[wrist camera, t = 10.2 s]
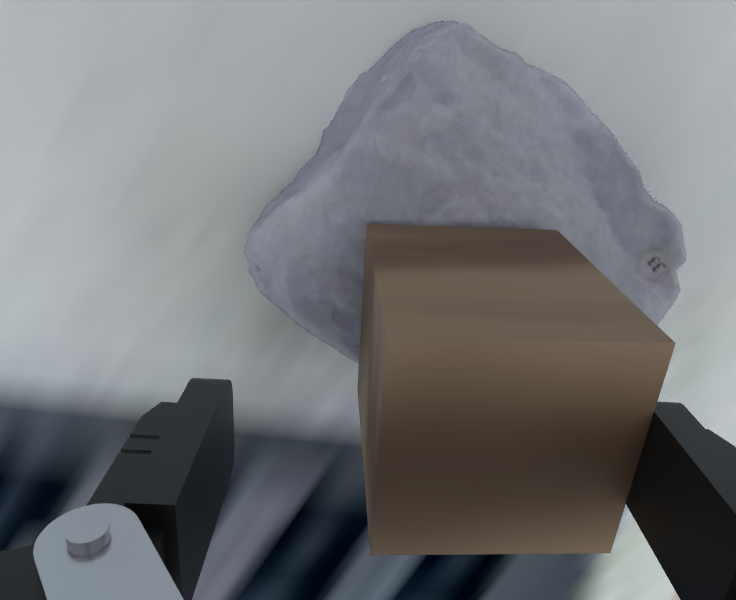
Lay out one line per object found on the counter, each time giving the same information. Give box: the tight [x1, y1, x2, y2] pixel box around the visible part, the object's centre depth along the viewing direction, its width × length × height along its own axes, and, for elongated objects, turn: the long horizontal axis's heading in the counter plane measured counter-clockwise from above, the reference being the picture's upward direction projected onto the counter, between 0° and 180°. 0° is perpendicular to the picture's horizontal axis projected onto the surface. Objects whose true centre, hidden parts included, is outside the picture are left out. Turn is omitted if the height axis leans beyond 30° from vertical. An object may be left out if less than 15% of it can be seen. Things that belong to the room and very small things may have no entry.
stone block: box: [244, 21, 687, 363], centre depth 19 cm, size 12×5×10 cm
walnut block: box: [358, 224, 675, 555], centre depth 14 cm, size 5×5×6 cm
